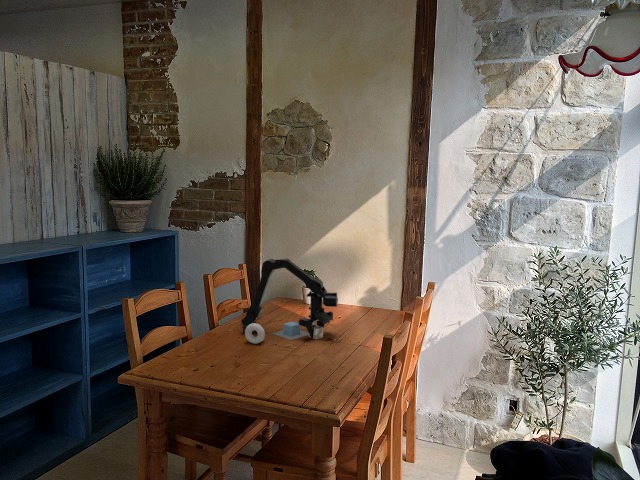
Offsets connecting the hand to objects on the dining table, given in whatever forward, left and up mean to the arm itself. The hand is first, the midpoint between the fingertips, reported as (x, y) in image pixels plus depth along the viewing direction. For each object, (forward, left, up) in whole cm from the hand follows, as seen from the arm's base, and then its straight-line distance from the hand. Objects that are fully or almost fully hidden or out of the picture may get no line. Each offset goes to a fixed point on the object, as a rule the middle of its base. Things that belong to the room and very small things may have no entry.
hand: (315, 336), depth 257 cm
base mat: (-5, +12, -1) cm, 13 cm away
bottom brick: (-5, +12, 0) cm, 13 cm away
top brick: (0, 0, -1) cm, 1 cm away
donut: (-26, +15, -2) cm, 30 cm away
